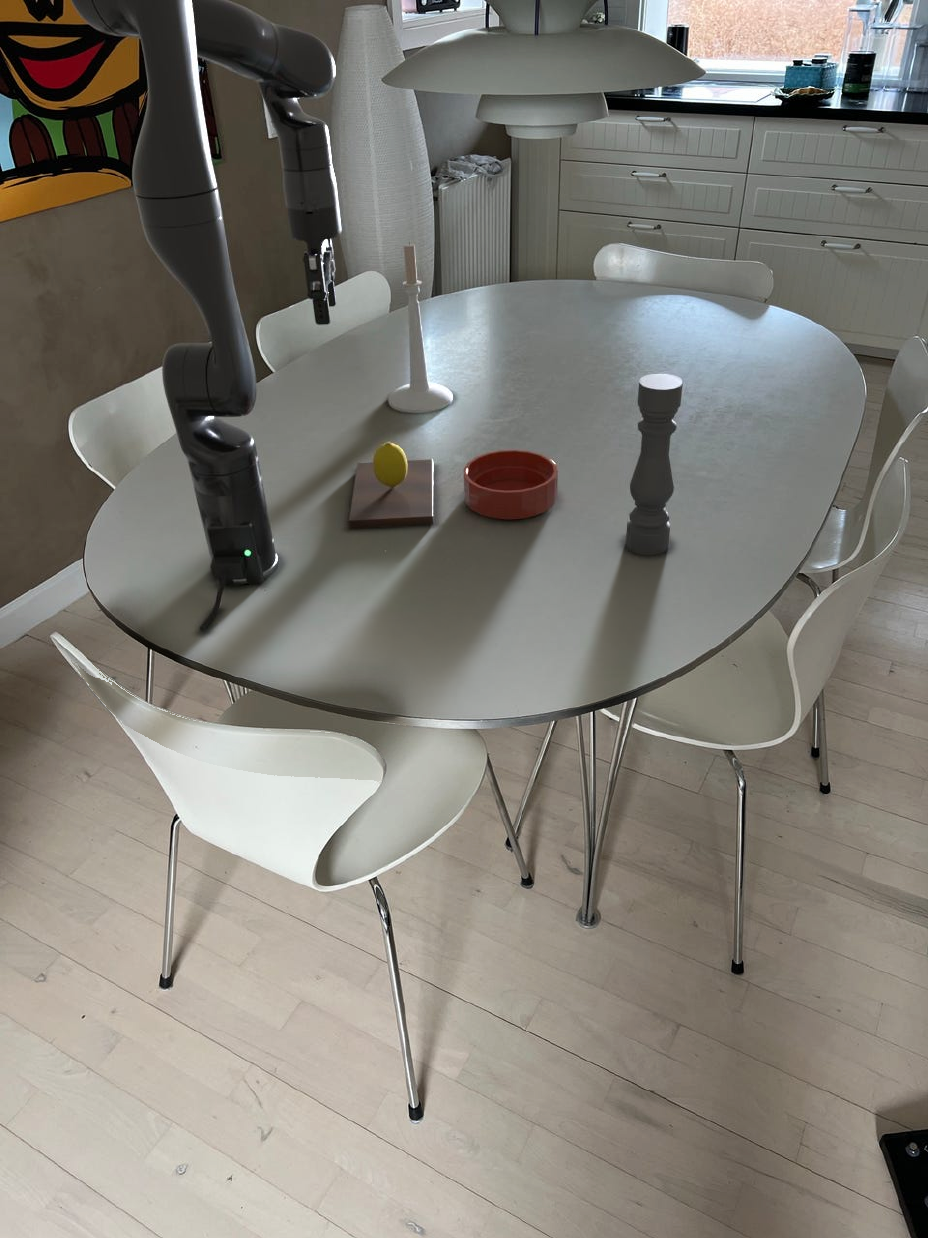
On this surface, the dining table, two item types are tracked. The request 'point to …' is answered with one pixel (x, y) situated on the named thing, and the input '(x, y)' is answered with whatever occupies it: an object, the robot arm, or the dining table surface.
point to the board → (393, 498)
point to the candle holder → (653, 464)
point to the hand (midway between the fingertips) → (326, 314)
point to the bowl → (510, 484)
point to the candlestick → (417, 355)
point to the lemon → (390, 464)
